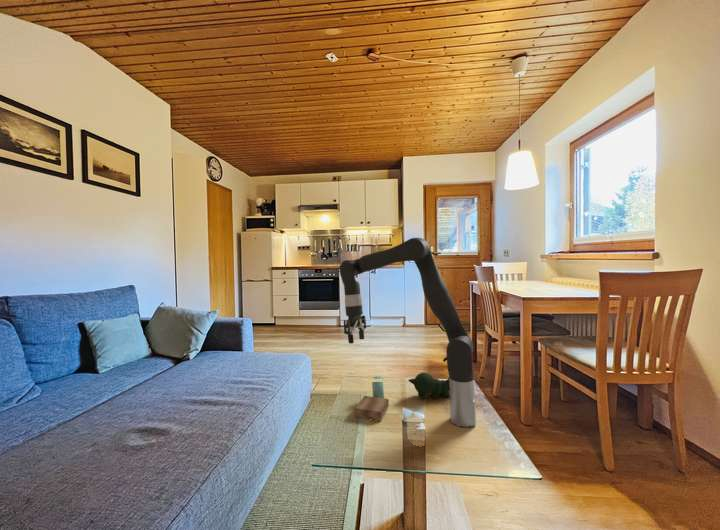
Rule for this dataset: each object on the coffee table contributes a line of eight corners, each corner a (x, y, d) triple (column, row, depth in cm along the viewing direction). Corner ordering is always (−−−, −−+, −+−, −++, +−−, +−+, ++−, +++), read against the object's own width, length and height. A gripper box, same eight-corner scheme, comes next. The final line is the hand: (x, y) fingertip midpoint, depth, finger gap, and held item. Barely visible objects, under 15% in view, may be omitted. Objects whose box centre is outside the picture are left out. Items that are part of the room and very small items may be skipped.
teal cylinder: (385, 398, 142) (384, 377, 142) (382, 403, 138) (381, 381, 137) (375, 396, 144) (374, 375, 144) (371, 402, 139) (370, 380, 139)
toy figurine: (453, 391, 149) (404, 393, 144) (455, 352, 148) (405, 353, 144) (463, 400, 139) (411, 403, 135) (465, 359, 139) (412, 360, 134)
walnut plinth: (388, 408, 133) (388, 399, 133) (381, 421, 123) (380, 411, 123) (365, 404, 137) (364, 395, 137) (355, 417, 127) (355, 408, 127)
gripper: (351, 306, 130) (354, 345, 129) (368, 302, 142) (372, 338, 141) (337, 306, 134) (340, 344, 133) (355, 303, 146) (358, 337, 145)
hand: (356, 341), depth 137 cm, fingers open, 8 cm apart
